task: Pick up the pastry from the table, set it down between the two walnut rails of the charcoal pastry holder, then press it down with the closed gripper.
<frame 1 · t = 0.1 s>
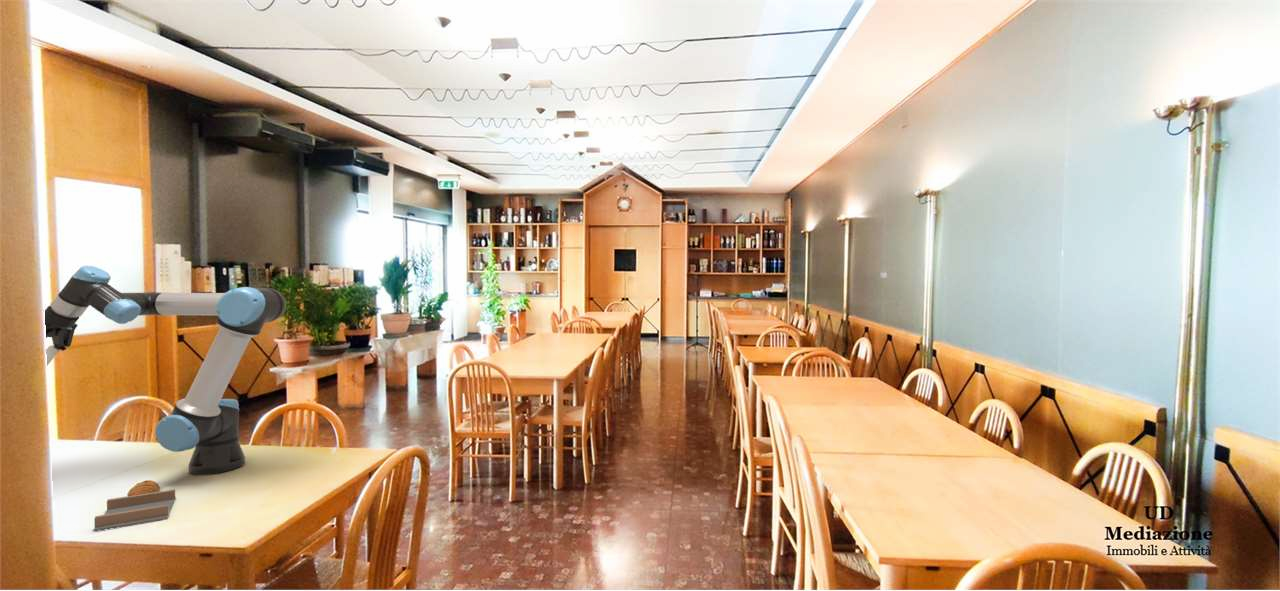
hand: (19, 367, 167), 36 cm above the table, tool tilted 35°, fingers open, 13 cm apart
pastry holder: (137, 514, 147), on the table
pastry: (143, 497, 160), on the table
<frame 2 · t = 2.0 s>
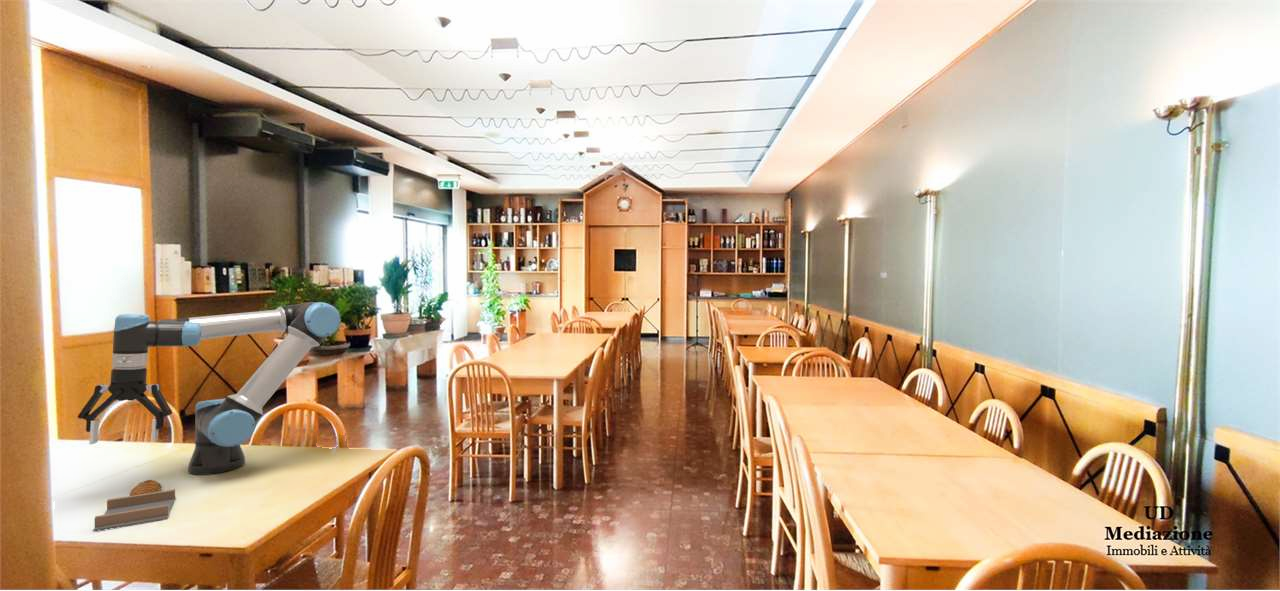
hand: (124, 441, 158), 16 cm above the table, tool pointing down, fingers open, 13 cm apart
nothing on the table moved.
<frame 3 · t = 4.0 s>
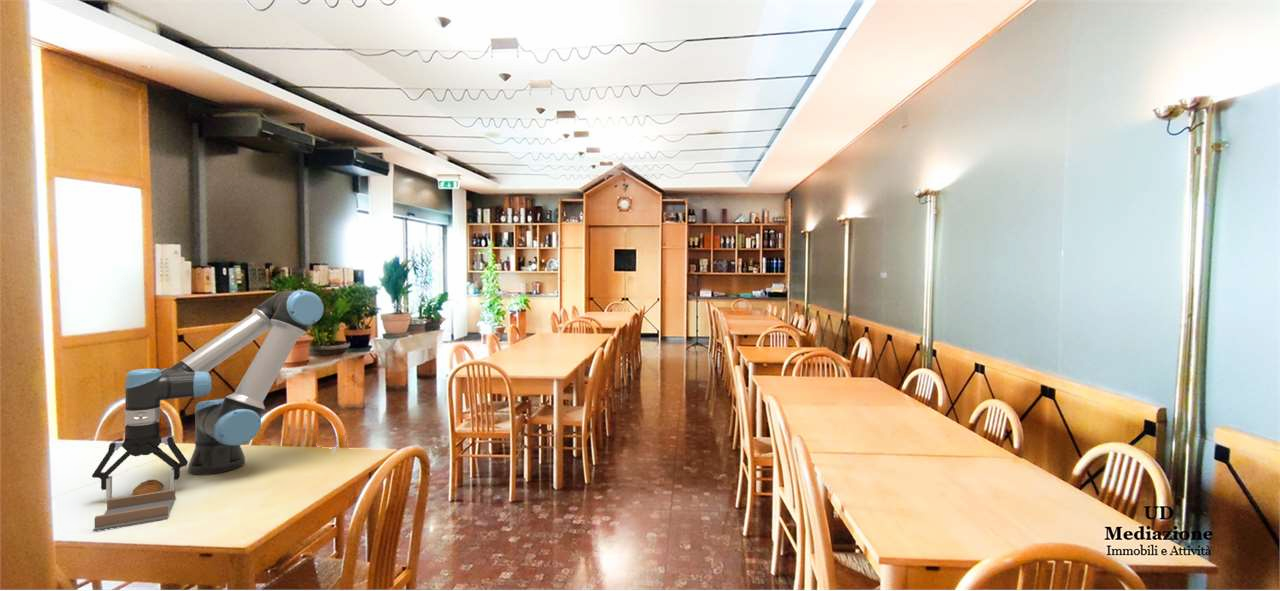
hand: (141, 496, 159), 0 cm above the table, tool pointing down, fingers open, 13 cm apart
nothing on the table moved.
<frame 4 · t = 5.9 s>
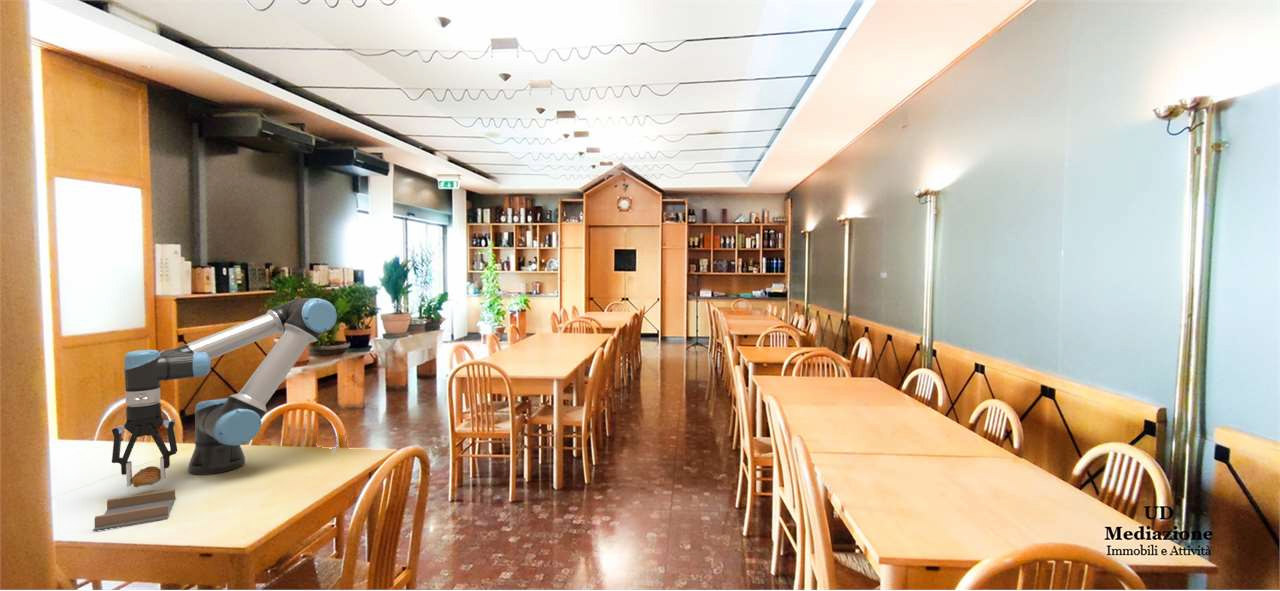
hand: (146, 481, 160), 4 cm above the table, tool pointing down, fingers closed on pastry, 7 cm apart
pastry: (147, 483, 161), point 3 cm above the table, touching gripper
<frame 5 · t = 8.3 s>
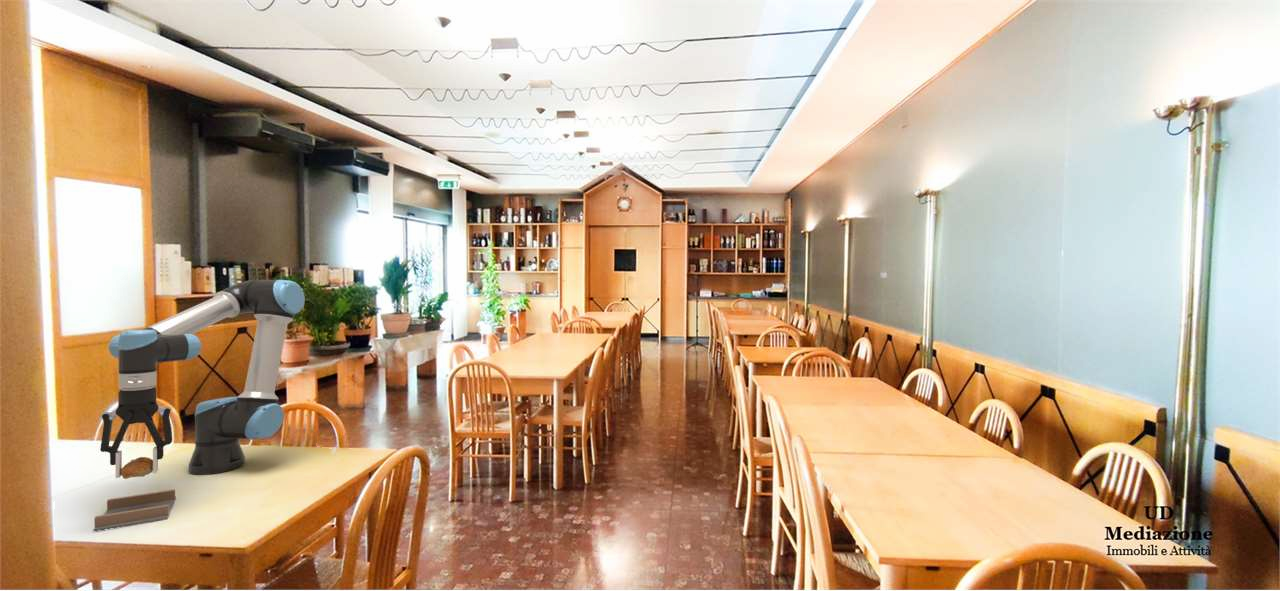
hand: (137, 473, 147), 11 cm above the table, tool pointing down, fingers closed on pastry, 7 cm apart
pastry: (138, 474, 147), point 10 cm above the table, touching gripper
when the fingers open (1 cm above the table, at t = 10.7 s): pastry stays where it is, resting on pastry holder.
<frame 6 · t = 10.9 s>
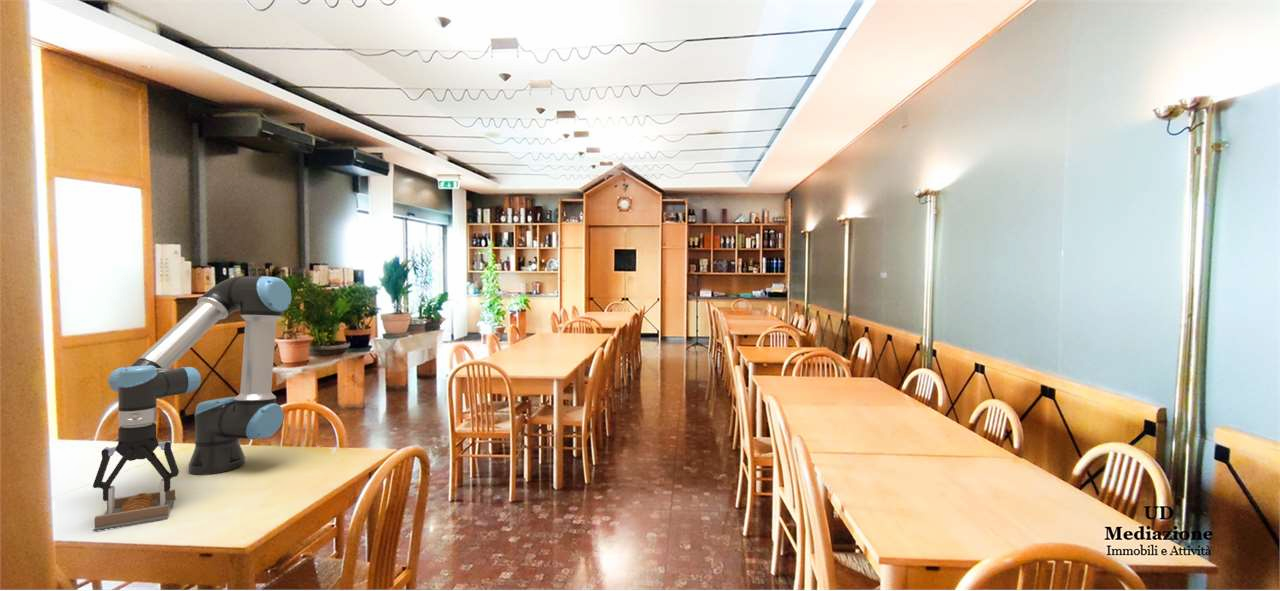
hand: (137, 507, 147), 2 cm above the table, tool pointing down, fingers open, 9 cm apart
pastry: (139, 511, 148), resting on pastry holder
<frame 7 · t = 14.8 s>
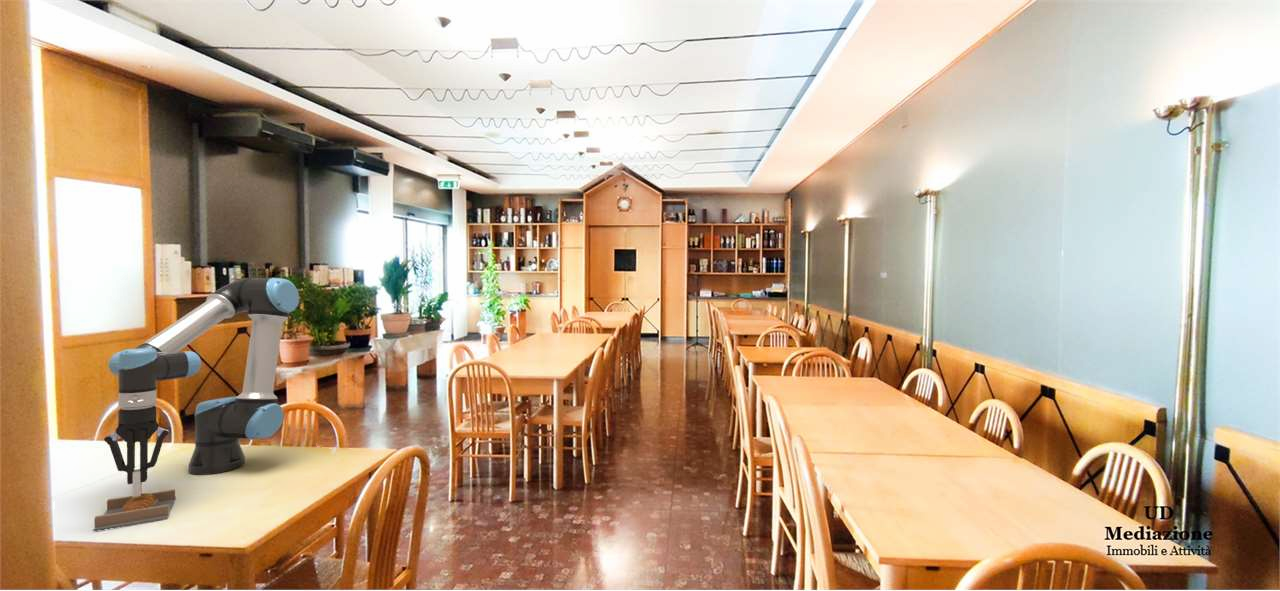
hand: (137, 494, 147), 5 cm above the table, tool pointing down, fingers closed
nothing on the table moved.
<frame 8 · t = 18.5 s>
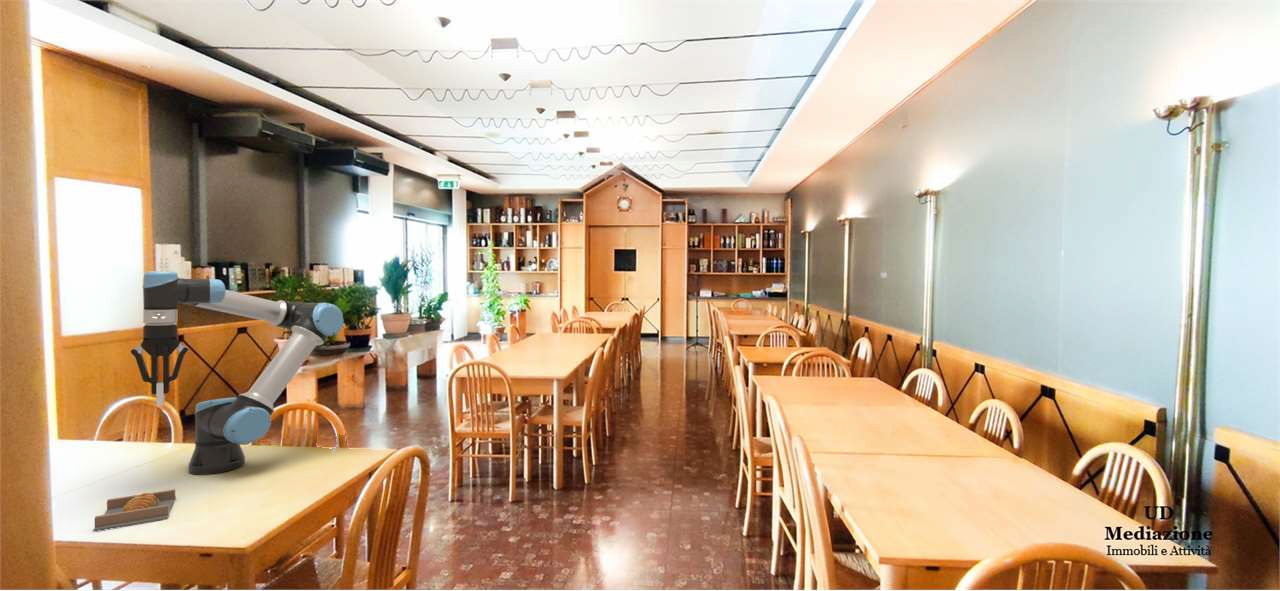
hand: (160, 405, 160), 26 cm above the table, tool pointing down, fingers closed
nothing on the table moved.
at the end: pastry inside the target area on the pastry holder (0.6 cm from its centre), point 0.4 cm above the pastry holder's base; the gripper is holding nothing; pastry tilted 0° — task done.
